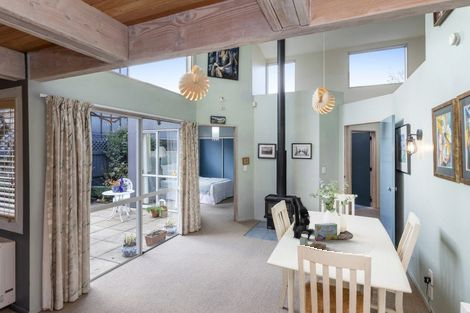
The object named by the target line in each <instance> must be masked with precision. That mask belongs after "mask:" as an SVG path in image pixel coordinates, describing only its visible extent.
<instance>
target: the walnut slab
mask: <svg viewBox="0 0 470 313" xmlns="http://www.w3.org/2000/svg"><path fill="white" fill-rule="evenodd" d="M308 246H310V247H314V248H317V249H322V251H323V250H325V249H326V248H327V243H326V244H325V243H321V242H318V241H317V242H316V241H313V242H312V243H310V244H309V245H308Z"/></svg>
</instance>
